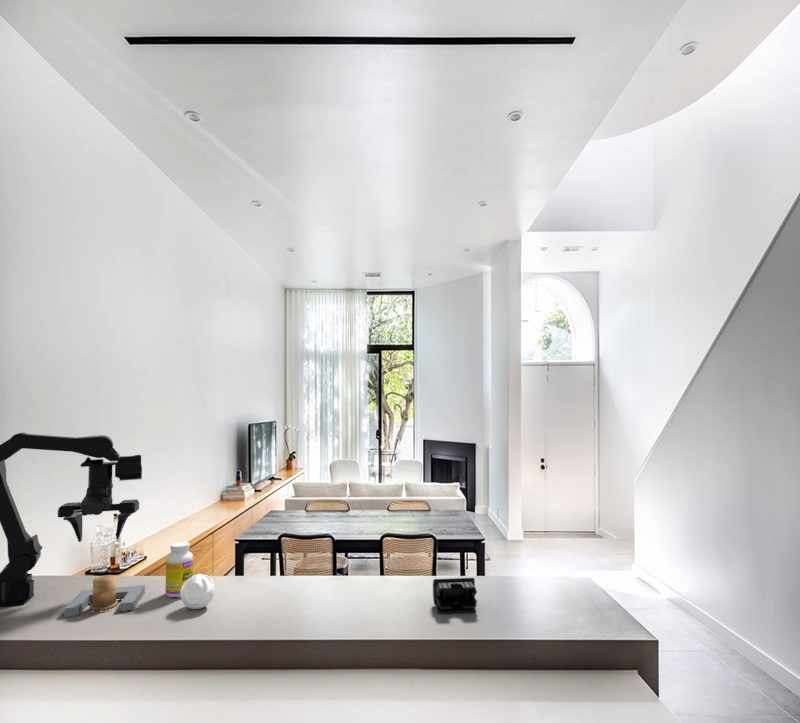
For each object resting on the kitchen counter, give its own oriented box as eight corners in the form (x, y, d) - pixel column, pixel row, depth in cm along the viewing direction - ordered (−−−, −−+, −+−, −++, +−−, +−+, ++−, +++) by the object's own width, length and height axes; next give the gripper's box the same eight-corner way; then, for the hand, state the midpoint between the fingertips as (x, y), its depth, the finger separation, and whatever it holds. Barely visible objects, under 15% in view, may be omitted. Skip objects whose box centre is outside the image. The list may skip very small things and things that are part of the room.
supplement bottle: (182, 599, 137) (183, 548, 138) (159, 597, 139) (160, 547, 140) (197, 590, 144) (198, 541, 145) (175, 588, 145) (176, 540, 146)
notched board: (64, 617, 127) (64, 608, 127) (81, 598, 139) (82, 590, 139) (133, 610, 131) (133, 602, 131) (144, 592, 142) (144, 585, 142)
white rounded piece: (175, 614, 128) (176, 581, 128) (185, 602, 136) (186, 571, 136) (210, 613, 129) (210, 580, 129) (218, 601, 136) (218, 569, 137)
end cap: (472, 601, 135) (471, 574, 135) (478, 613, 127) (478, 584, 128) (432, 603, 134) (432, 575, 134) (436, 614, 127) (436, 585, 127)
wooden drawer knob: (86, 613, 129) (87, 583, 129) (94, 604, 135) (95, 575, 135) (113, 611, 130) (114, 581, 131) (120, 601, 136) (121, 573, 137)
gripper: (50, 488, 137) (48, 551, 136) (130, 485, 141) (128, 545, 140) (66, 482, 148) (64, 539, 147) (140, 478, 152) (139, 535, 151)
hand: (99, 540), depth 146 cm, fingers open, 9 cm apart
